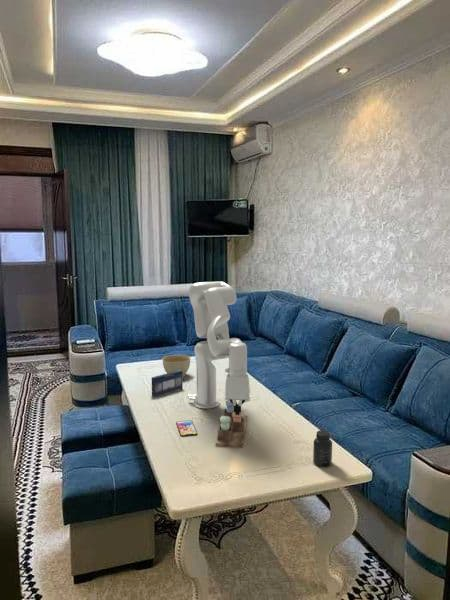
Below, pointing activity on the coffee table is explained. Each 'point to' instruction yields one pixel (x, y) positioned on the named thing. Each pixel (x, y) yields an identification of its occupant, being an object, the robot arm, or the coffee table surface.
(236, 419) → the button terracotta
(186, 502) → the coffee table surface
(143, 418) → the coffee table surface
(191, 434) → the smartphone
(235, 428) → the button board
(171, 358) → the planter bowl
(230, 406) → the button slate
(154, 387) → the vhs cassette tape
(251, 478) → the coffee table surface
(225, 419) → the button sage
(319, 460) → the supplement bottle
